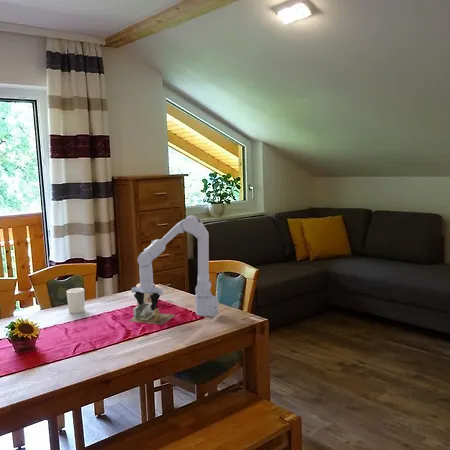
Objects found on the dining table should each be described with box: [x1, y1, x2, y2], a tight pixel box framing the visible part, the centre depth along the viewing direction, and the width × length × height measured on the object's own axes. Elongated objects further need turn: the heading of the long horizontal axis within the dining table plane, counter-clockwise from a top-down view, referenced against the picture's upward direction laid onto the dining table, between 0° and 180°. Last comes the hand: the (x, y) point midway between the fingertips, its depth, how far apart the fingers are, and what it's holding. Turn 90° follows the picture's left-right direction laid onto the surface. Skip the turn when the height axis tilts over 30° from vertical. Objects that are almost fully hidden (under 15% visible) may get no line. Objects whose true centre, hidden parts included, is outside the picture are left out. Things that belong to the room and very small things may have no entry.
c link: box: [132, 302, 155, 319], centre depth 213 cm, size 8×6×4 cm
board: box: [128, 307, 176, 325], centre depth 211 cm, size 16×13×6 cm
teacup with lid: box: [135, 282, 156, 306], centre depth 237 cm, size 12×9×12 cm
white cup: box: [66, 287, 86, 314], centre depth 226 cm, size 8×8×10 cm
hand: (148, 309), depth 217 cm, fingers closed on c link, 5 cm apart
